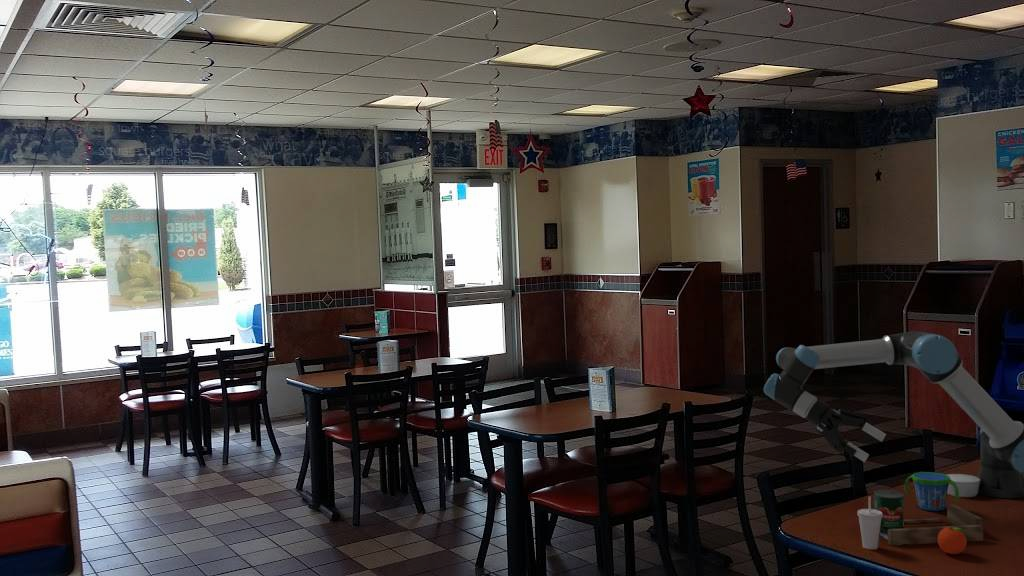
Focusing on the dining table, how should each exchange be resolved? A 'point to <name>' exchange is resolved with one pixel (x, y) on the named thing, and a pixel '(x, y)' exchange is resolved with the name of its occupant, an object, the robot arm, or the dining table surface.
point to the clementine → (952, 540)
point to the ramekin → (964, 485)
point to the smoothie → (870, 526)
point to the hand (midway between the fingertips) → (875, 448)
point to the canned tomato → (890, 509)
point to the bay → (938, 528)
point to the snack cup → (931, 490)
